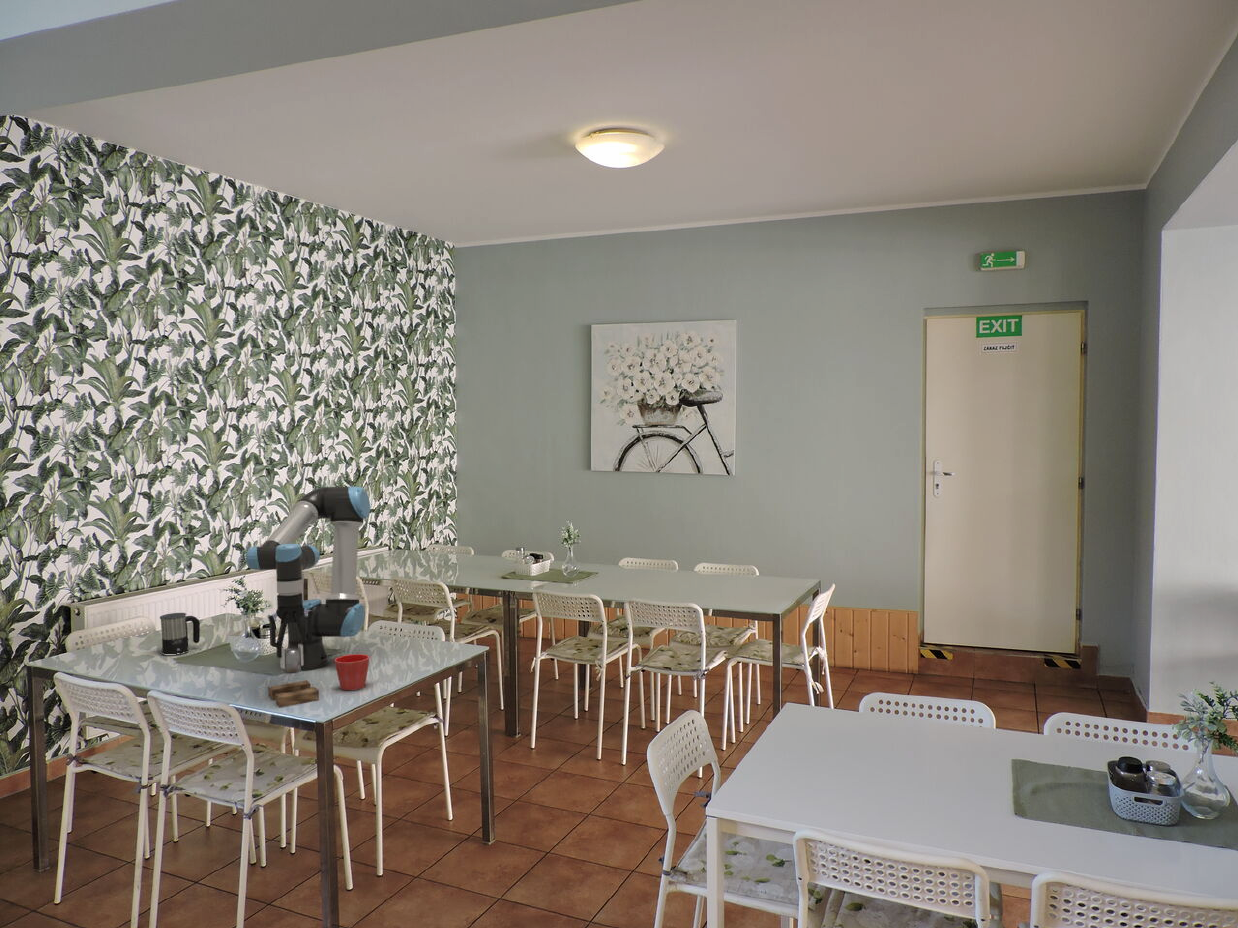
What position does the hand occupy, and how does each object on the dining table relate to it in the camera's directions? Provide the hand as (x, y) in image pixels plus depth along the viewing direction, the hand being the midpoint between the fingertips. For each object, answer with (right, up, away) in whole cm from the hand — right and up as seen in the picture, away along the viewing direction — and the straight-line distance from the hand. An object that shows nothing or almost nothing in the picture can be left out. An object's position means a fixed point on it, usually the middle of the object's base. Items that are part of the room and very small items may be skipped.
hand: (292, 665), depth 281 cm
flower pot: (+16, -10, +12) cm, 22 cm away
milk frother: (-69, -9, +63) cm, 94 cm away
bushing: (0, -2, 0) cm, 2 cm away
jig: (0, -10, +1) cm, 10 cm away
